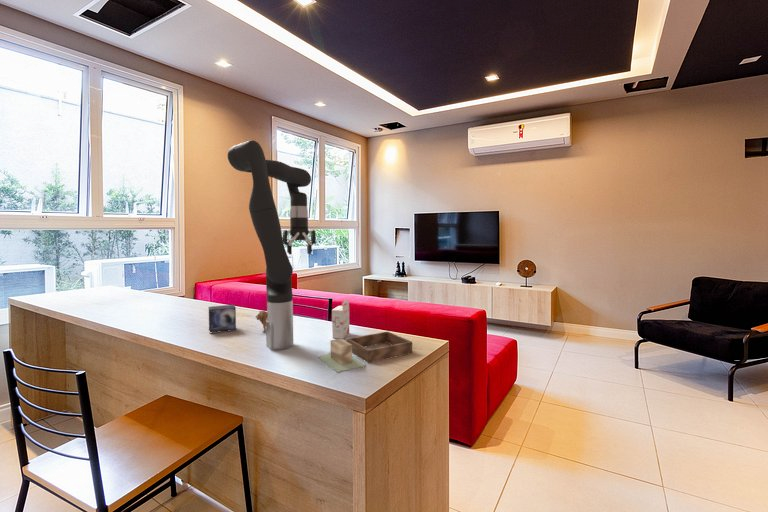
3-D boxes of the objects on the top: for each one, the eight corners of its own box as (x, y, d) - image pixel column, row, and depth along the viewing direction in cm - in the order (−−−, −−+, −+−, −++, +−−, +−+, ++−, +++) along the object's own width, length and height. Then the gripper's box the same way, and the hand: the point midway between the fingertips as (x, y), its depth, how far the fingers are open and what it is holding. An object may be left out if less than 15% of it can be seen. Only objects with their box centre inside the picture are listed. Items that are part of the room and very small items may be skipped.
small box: (209, 334, 154) (208, 309, 153) (208, 330, 159) (207, 306, 159) (236, 330, 159) (235, 306, 158) (234, 327, 164) (234, 304, 164)
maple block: (340, 365, 117) (340, 346, 116) (330, 357, 124) (330, 340, 123) (352, 362, 119) (351, 344, 118) (341, 355, 126) (341, 338, 125)
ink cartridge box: (338, 332, 156) (338, 298, 155) (349, 333, 155) (349, 298, 154) (331, 338, 147) (331, 302, 146) (343, 339, 146) (343, 302, 145)
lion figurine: (254, 331, 158) (253, 310, 157) (264, 328, 162) (264, 308, 161) (275, 337, 149) (275, 315, 148) (286, 334, 153) (285, 313, 153)
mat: (337, 372, 112) (337, 371, 112) (317, 357, 125) (317, 356, 125) (366, 366, 117) (366, 364, 117) (343, 352, 131) (343, 350, 131)
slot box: (368, 362, 120) (368, 350, 120) (346, 349, 133) (346, 338, 133) (412, 352, 130) (412, 341, 129) (387, 341, 143) (387, 331, 143)
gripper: (285, 216, 152) (286, 255, 153) (317, 217, 160) (318, 253, 161) (280, 216, 158) (281, 254, 159) (311, 217, 166) (311, 253, 167)
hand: (299, 254), depth 160 cm, fingers open, 8 cm apart
